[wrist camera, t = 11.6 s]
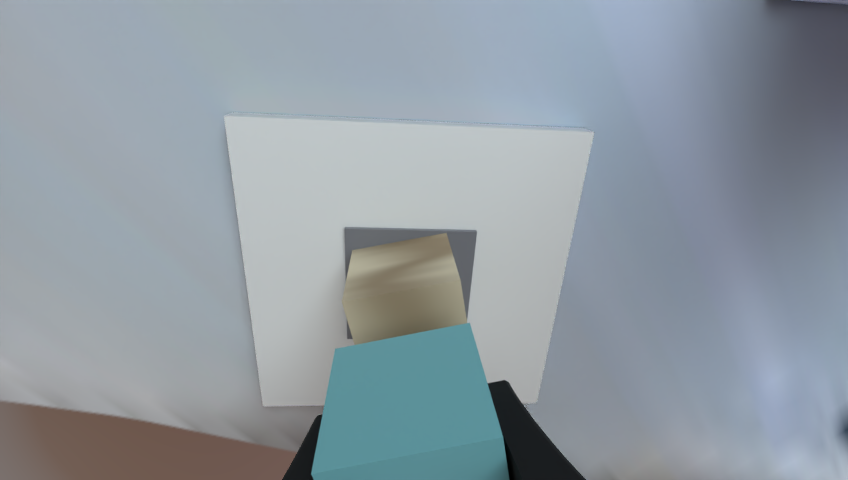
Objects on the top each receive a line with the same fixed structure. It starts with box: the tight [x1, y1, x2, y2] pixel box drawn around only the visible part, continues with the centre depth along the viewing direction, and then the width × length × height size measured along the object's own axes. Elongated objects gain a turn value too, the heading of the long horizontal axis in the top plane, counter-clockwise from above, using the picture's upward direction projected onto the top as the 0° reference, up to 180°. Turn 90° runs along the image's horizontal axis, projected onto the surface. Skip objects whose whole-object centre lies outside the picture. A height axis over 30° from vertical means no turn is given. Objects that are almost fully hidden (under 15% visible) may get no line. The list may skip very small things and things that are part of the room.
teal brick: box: [311, 323, 509, 480], centre depth 11 cm, size 4×4×4 cm
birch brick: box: [342, 233, 467, 345], centre depth 17 cm, size 4×4×4 cm
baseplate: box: [224, 112, 594, 406], centre depth 19 cm, size 14×14×1 cm
